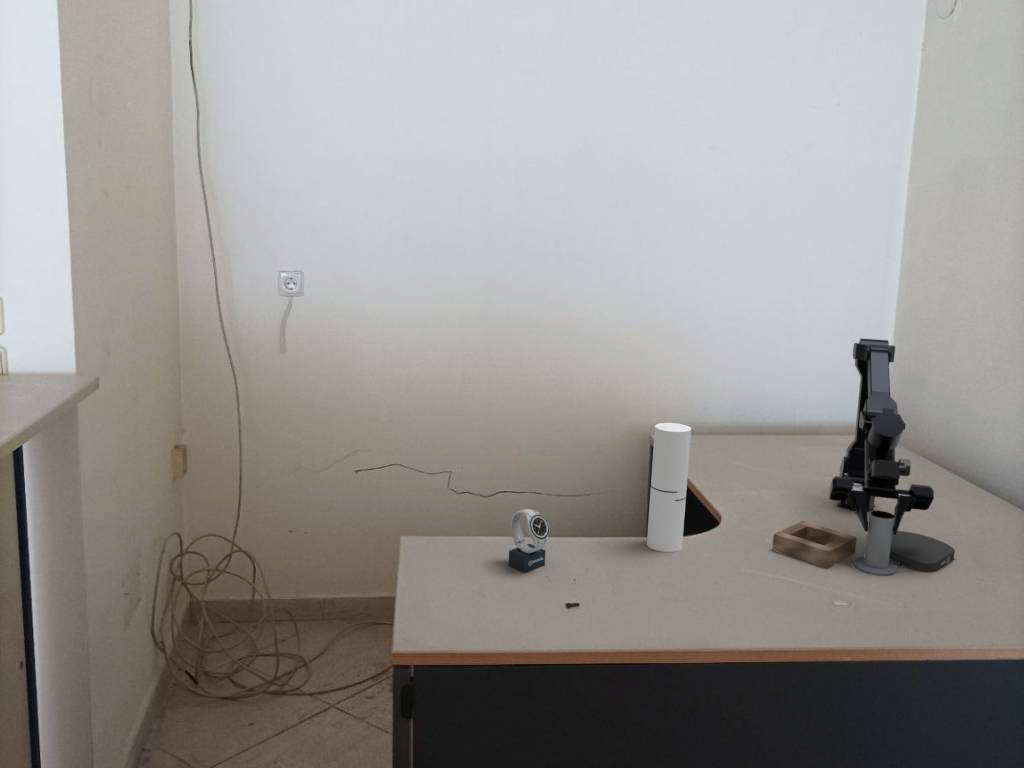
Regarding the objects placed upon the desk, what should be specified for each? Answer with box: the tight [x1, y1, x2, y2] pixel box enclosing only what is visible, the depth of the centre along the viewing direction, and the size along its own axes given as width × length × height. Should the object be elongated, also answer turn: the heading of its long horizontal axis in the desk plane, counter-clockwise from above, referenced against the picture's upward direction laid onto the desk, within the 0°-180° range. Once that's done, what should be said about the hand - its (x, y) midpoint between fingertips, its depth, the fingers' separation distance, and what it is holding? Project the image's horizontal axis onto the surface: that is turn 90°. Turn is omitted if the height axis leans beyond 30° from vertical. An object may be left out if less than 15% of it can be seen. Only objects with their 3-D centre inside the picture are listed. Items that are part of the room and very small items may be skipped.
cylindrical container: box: [646, 422, 692, 553], centre depth 187 cm, size 7×7×25 cm
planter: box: [863, 510, 895, 568], centre depth 181 cm, size 4×4×10 cm
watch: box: [508, 508, 550, 574], centre depth 176 cm, size 6×8×11 cm
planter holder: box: [771, 520, 858, 569], centre depth 188 cm, size 12×12×4 cm
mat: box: [853, 555, 898, 577], centre depth 182 cm, size 8×8×1 cm
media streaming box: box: [889, 530, 956, 573], centre depth 189 cm, size 15×15×3 cm
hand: (880, 532), depth 179 cm, fingers open, 5 cm apart
